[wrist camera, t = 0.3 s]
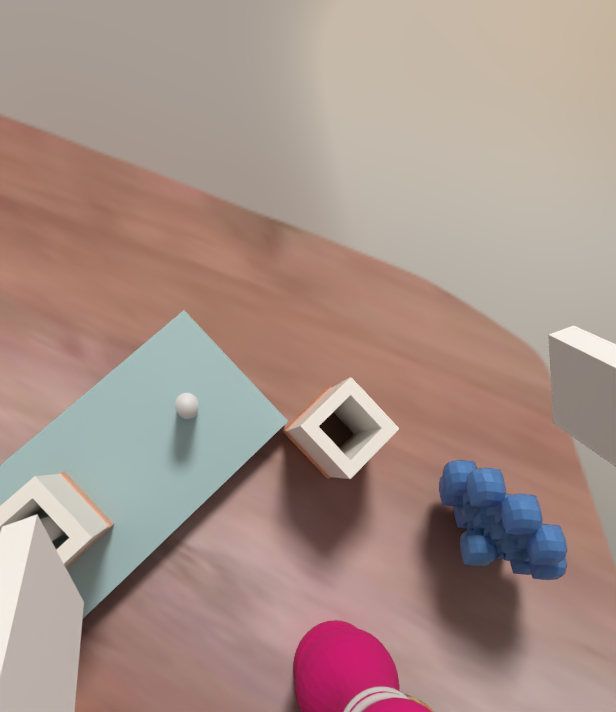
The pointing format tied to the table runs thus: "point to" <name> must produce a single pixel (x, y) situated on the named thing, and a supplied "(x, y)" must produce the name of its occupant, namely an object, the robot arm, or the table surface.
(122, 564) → the pin board
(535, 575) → the grapes
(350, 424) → the sleeve
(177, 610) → the table surface
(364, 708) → the pepper mill
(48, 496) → the seated sleeve
